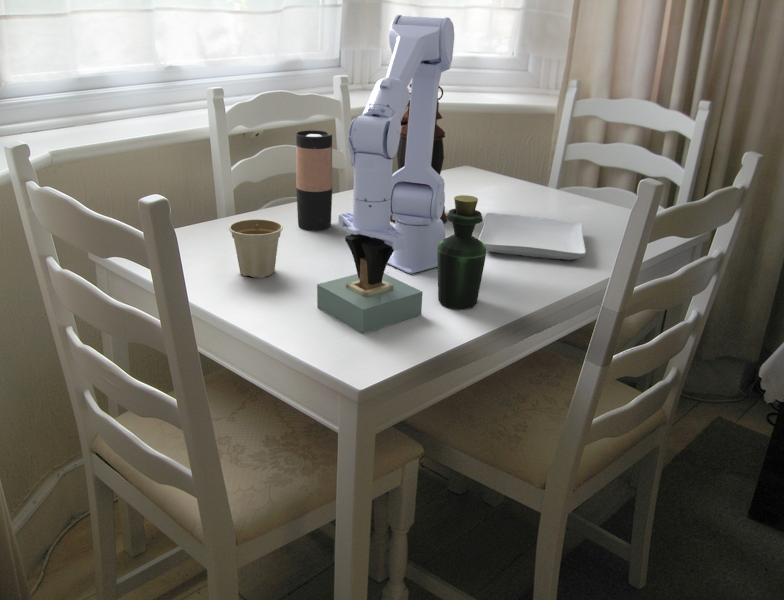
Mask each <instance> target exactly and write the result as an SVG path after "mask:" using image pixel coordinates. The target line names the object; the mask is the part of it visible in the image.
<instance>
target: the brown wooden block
mask: <svg viewBox="0 0 784 600" xmlns="http://www.w3.org/2000/svg"><path fill="white" fill-rule="evenodd" d="M380 286H382V281H381V282H380V283H377V284H373V285H371V284H369V282H368V276H367V261H366V257H364V258H360V288H362V289H363V290H365V291H366V290H370V289H373V288H377V287H380Z"/></svg>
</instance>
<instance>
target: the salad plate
mask: <svg viewBox="0 0 784 600" xmlns="http://www.w3.org/2000/svg"><path fill="white" fill-rule="evenodd" d="M483 220H484V222H483V225H482V228H481V229H482V230H481V232H480V234H479V235H478V237H477V239H478V240H480V241H481V242H482V243H483V244H484V245H485V247H486V249H487V252H491V253H492V252H493V253H496V252H497V254H501V253H503V255H510V254H512V256H519V255H523V256H522V257H528V256H533V257H532V258H538V257H543V258H542V259H548V258H553V259H552V260H559V259H563V261H564V260H566V261H568V260H569V261H570V260H571V261H572V260H577V259H580V258H582V257H583V256H585V254H586V252H587V249H586V245H585V239H584V226H583V224H582V223H581V222H576V221H569V220H561V219H555V218H544V217H536V216H529V215H515V214H504V213H492V212H487V213H485V216H484V219H483Z"/></svg>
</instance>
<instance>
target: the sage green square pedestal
mask: <svg viewBox="0 0 784 600" xmlns="http://www.w3.org/2000/svg"><path fill="white" fill-rule="evenodd" d="M316 286H317V287H316V290H317V291H316V295H317V296H316V297H317V298H316V300H317V301H316V303H317V304H316V305H317V306H316V307H317V308H318V309H320V310H322V311H324V312H325V313H327V314H328V315H330V316H332V317H334V318H335V319H337V320H338V321H340V322H342V323H344V324H345V325H347V326H349V327H350V328H352V329H354V330H356V331H357V332H359V333H361V334H367V333H369V332H371V331H374V330H378V329H381V328H384V327H387V326H391V325H393V324H397V323H399V322H402V321H405V320H409V319H412V318H415V317H418V316H421V315H422V311H423V310H422V308H423V307H422V306H423V292H424V291H422V290H421V289H418V288H416V287H413V286H412V285H410V284H408V283H405V282H403V281H401V280H399V279H397V278H395V277H393V276H392V275H391V276H390V275H388V274H386V273H384V274H383V277H382V286H380V287H377V288H373V289H370V290H366V291H365V290H363V289H362V288H360V279H359V277H358V274H357V273H356V274H352V275H349V276H344V277H340V278H337V279H333V280H328V281H325V282H320V283H316Z"/></svg>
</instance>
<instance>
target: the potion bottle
mask: <svg viewBox="0 0 784 600" xmlns="http://www.w3.org/2000/svg"><path fill="white" fill-rule="evenodd" d="M453 198H454V199H453V201H454V207H455V208H451V209H449V210H448V213H447V214H446V216H447V218H446V219H447V221H448V222H451V223H452V229H453V234H452V235H450V236H448V237H445V239H443V240H442V241H441V242H440V243H439V245H438V248H437V261H438V267H437V298H438V302H439V303H440V304H441V305H442V306H444V307H445V308H448V309H452V310H458V311H459V310H469V309H472V308H473V307H476V305H477V304H478V298H479V294H480V293H479V292H480V288H481V282H482V278H483V272H484V269H485V267H484V266H485V263H486V258H487V257H486V256H487V252H488V250H487V249H486V247H485V245H484V244H483V243H482V242H481V241H480V240H478V237H477V238H476V237H475V236H473V234H474V231H475V227H476V225H478V224H481V223H484V222H483V220H484V219H483V214H482V212H481V211H480V210H477V205H478V202H479V198H478V197H475V196H473V195H467V194H466V195H465V194H463V195H462V194H461V195H456V196H454V197H453Z"/></svg>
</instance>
